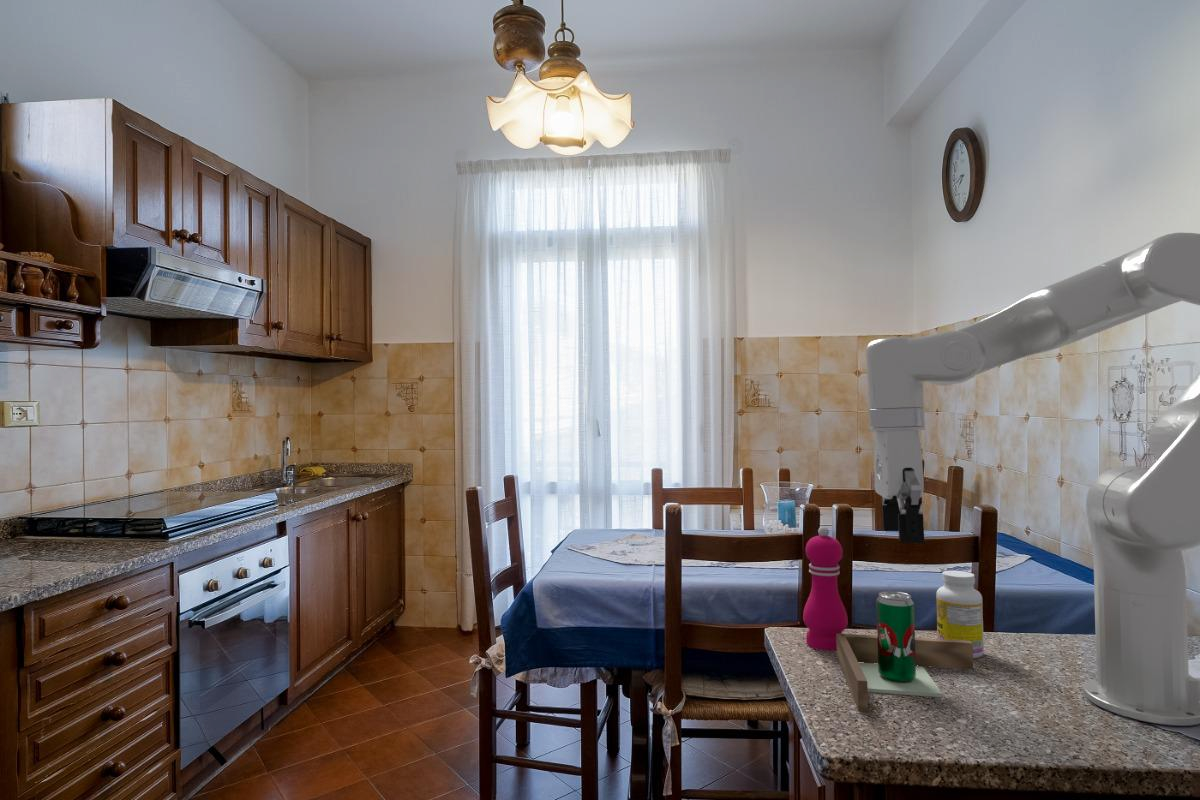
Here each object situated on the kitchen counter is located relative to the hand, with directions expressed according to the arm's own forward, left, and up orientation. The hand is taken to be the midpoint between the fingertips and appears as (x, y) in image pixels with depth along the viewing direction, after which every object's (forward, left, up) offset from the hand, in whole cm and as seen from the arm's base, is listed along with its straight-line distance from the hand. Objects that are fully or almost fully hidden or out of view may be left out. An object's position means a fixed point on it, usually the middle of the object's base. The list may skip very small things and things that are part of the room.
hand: (902, 536), depth 97 cm
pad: (+2, +1, -21) cm, 21 cm away
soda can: (+1, +1, -21) cm, 21 cm away
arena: (-1, +3, -21) cm, 21 cm away
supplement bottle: (-11, -13, -21) cm, 28 cm away
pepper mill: (+10, -13, -21) cm, 27 cm away
